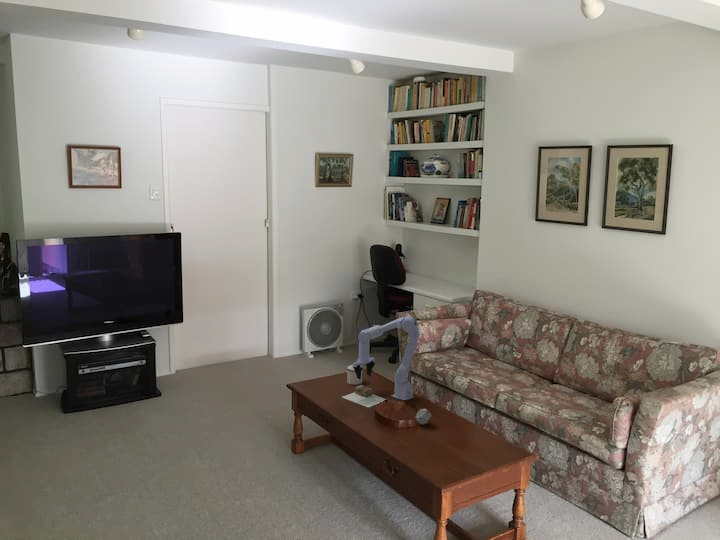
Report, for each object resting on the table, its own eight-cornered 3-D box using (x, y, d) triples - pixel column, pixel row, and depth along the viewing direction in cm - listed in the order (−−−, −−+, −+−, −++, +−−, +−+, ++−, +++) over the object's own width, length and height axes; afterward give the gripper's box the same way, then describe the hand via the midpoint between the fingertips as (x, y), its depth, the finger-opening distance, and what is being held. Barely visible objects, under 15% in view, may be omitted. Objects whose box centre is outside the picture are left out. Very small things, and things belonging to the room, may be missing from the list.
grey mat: (388, 400, 326) (388, 399, 326) (368, 408, 316) (368, 407, 316) (360, 391, 340) (360, 389, 340) (341, 398, 330) (341, 396, 329)
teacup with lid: (365, 384, 351) (365, 364, 349) (351, 386, 347) (351, 366, 345) (356, 377, 362) (356, 358, 360) (341, 380, 358) (342, 360, 356)
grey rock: (419, 432, 297) (407, 416, 295) (425, 420, 303) (413, 405, 302) (433, 428, 291) (421, 412, 289) (439, 416, 297) (427, 400, 296)
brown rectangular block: (372, 395, 333) (372, 388, 332) (365, 397, 329) (365, 390, 329) (361, 391, 338) (361, 384, 338) (355, 393, 335) (355, 387, 334)
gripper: (368, 348, 341) (368, 372, 343) (349, 353, 331) (349, 378, 333) (377, 351, 336) (377, 375, 338) (358, 356, 326) (358, 381, 328)
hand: (363, 376), depth 335 cm, fingers open, 7 cm apart
